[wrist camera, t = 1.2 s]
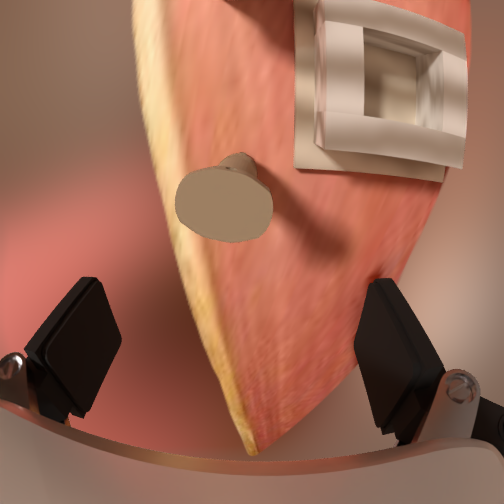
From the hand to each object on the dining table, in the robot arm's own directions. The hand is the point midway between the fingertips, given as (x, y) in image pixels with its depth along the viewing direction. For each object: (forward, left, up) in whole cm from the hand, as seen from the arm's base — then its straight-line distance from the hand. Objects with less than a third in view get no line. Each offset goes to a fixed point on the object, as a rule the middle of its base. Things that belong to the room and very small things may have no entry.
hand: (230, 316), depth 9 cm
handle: (0, -1, -25) cm, 25 cm away
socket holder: (-11, +15, -25) cm, 31 cm away
